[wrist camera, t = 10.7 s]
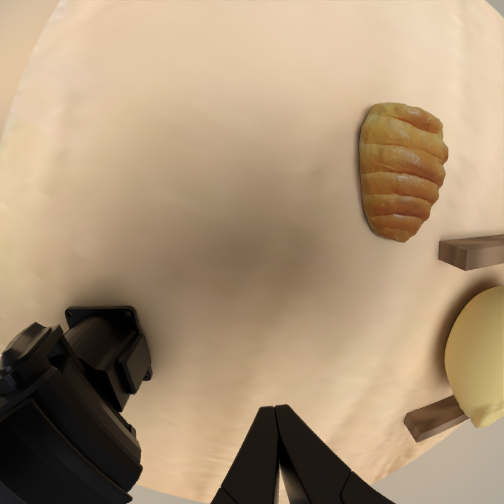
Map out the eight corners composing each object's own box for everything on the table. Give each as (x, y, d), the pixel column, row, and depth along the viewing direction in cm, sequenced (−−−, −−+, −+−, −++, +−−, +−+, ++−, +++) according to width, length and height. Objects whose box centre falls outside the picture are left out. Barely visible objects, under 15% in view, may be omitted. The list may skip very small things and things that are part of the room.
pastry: (417, 243, 19) (446, 254, 16) (341, 229, 19) (362, 239, 15) (431, 128, 17) (461, 120, 14) (357, 101, 17) (380, 85, 13)
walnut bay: (403, 422, 23) (416, 442, 20) (439, 241, 19) (467, 250, 16) (493, 382, 24) (507, 395, 20) (528, 232, 19) (549, 238, 16)
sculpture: (433, 397, 23) (482, 459, 13) (423, 314, 21) (505, 380, 10) (502, 342, 22) (556, 383, 12) (501, 255, 20) (579, 286, 9)
